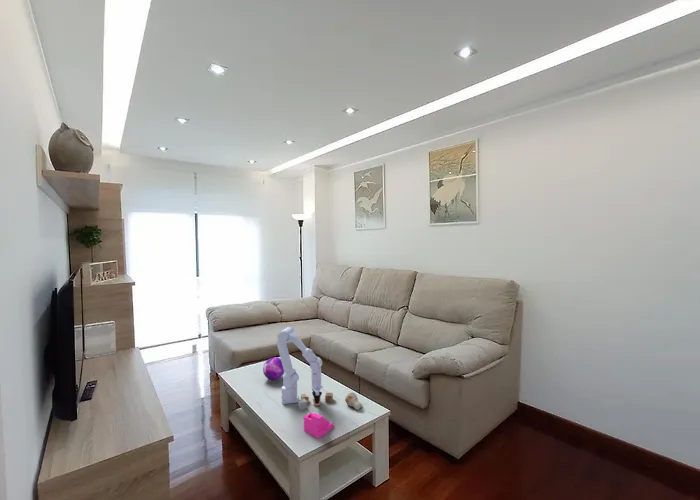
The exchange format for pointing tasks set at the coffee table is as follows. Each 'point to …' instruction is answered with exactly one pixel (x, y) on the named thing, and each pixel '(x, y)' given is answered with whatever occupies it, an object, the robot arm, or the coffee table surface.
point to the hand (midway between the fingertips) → (316, 401)
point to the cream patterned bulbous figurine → (353, 401)
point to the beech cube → (305, 397)
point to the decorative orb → (273, 368)
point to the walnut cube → (329, 397)
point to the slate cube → (302, 404)
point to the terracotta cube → (314, 402)
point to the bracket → (316, 425)
